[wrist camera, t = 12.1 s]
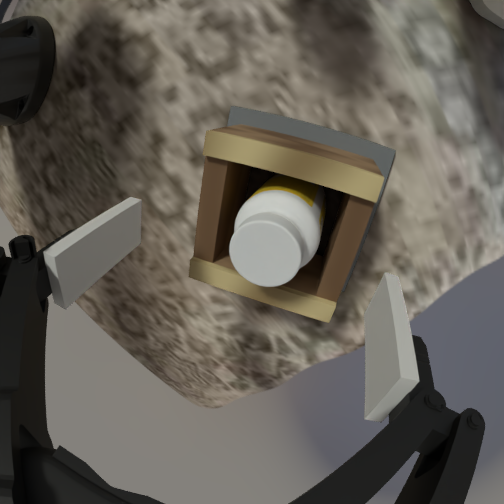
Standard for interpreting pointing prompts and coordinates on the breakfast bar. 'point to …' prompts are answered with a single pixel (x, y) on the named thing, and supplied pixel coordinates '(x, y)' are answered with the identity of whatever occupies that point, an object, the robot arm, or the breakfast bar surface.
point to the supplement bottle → (278, 230)
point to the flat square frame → (324, 136)
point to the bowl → (490, 10)
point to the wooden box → (298, 166)
